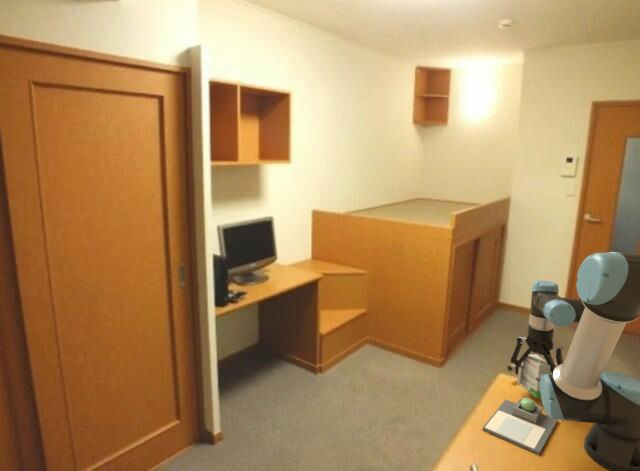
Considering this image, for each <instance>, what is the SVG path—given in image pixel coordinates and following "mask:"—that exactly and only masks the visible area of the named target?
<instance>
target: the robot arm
mask: <svg viewBox="0 0 640 471" xmlns="http://www.w3.org/2000/svg"><path fill="white" fill-rule="evenodd" d="M576 278H577V281H576V283H575V285H576V291H577V295H578V297H579V298H578V297H577V298H575V297H561V295H559V285H558V283H557V282H554V281H549V280H543V279H542V280H535V281H534V282H532V289H531V298H530V299H531V300H530V309H529V319H528V324H529V325H528V328H527V337H523V336H522V335H520V336H518V337H517V338H516V346H515V349H514V351H513V353H512V356H511V359H510V363H511V364H514V365H515V371H514V373H515V375H517V380H516V381H517V382H516V385H518V386H521V382H522V372H523V362H524V360H525V358H526V357H527V356H528V355H531V352H532V353H534V354H537V355H538V354H539V355H541V356H542V357H544V360H545V361H546V362H547V364H548V365H551V366H550V371H551V375H549V374H544V375H542V376H541V378H540V394H541V398H540V399H541V403H542V407H543V409H544V411H545V413H546V415H548V416H549V417H551V418H553V419H558V420H560V421H562V422H564V421H565V422H566V421H568V422H579V423H591V424H593V425H592V426H591V427H590V429H589V431H588V432H587V434H586V435H585V436H584V437H585V438H584V443H583V447H584V451H585V452H586V455H588V456H589V457H590V458H591V459H592V460H593V461H595V463H596V464H599V465H600V466H601V467H603V468H606V469H608V470H610V471H640V379H637V378H635V377H634V376H631V375H629V374H626V373H622V372H617V371H614V370H609V371H608V370H607V371H605V369H606V368H607V364H608V362H609V360H610V359H611V356H612V354H613V352H614V350H615V349H616V345H617V344H618V341H619V340H620V338H621V335H622V333H623V331H624V329H625V327H626V324H628V323H631V322H634V321H636V320H637V319H638V318H639V317H640V253H621V252H619V251H618V252H617V251H609V252H595V253H592V254H590V255H588V256H587V257H586V258H585V259H584V260H582V263H581V264H580V266H579V268H578V271H577V275H576ZM571 324H577V328H576V330H575V332H574V335H573V338H572V341H571V343H570V345H569V348H568V351H567V353H566V355H565V358H564V360H563V349H564V348H563V347H562V346H557V345H555V344H554V342H553V340H554V330H555V329H554V328H555V326H557V327H562V328H564V327H568V326H570V325H571ZM525 343H526V345H527V346H528V348H527V349H526V350H525V352H524V353H523V354H522V355H521V357H520V358H519V359H518V356H519V354H520V351H521V349H522V347H523V344H525ZM551 350H553V352H554V354H555V359H556V363H555V361H554V359H553V357H552V353H551ZM556 365H557V366H556Z"/></svg>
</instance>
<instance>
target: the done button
mask: <svg viewBox="0 0 640 471" xmlns="http://www.w3.org/2000/svg"><path fill="white" fill-rule="evenodd" d="M521 399H522V401H521V409H523V410H525V411H528V412H530V413H533V412H535V404H536V405H537V403H536V401H535V400H533V399H531V398H528V397H523V398H521Z"/></svg>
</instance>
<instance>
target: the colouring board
mask: <svg viewBox="0 0 640 471" xmlns="http://www.w3.org/2000/svg"><path fill="white" fill-rule="evenodd" d="M522 399H523V398H519V399H518V400H517V401H516V402H514V401H511V400H509V399H504V401H503V402H502V403H501V404H500V405H499V407H498V408H497V409H496V410H495V412H494V413H493V414H492V415H491V416H490V418H489V419H488V421H486V423H485V424H484V425H483V426H482V431H483V432H486V433H488V434H490V435H493V436H495V437H497V438H499V439H502V440H504V441H506V442H509V443H511V444H513V445H515V446H518V447H520V448H522V449H524V450H527V451H530V452H531V453H534V454H536V455H538V456H540V454H541V453H542V451H543V449H544V447H545V446H546V443H547V441H548V440H549V438H550V436H551V434H552V432H553V431H554V429H555V427H556V425H557V424H558V420H559V419H553V418H551V417H549V416H548V415H547V414H545V413H543V409H544V407H543V405H542V406H541V405H539V404H537V403H536V404H535V412H533V413H530V412H528V411H525V410H523V409H521V401H522Z"/></svg>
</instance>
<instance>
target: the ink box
mask: <svg viewBox="0 0 640 471" xmlns="http://www.w3.org/2000/svg"><path fill="white" fill-rule="evenodd" d="M522 365H523V372H522V382H521V384H520V386H521V387H522V388H523V389H524V390H526V392H528V393H529V394H530V395H531V396H533V397H534V398H536V399H541V394H540V378H541V376H542V375H544V374H549V375H552V373H551V371H550V366H551V365H548V364H547V361H546V359H543V358H542V357H541V356H539V355H538V354H537V353H534V354H529V355H528V356H527V357H526V358H525V360H524V361H523V362H522Z"/></svg>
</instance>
